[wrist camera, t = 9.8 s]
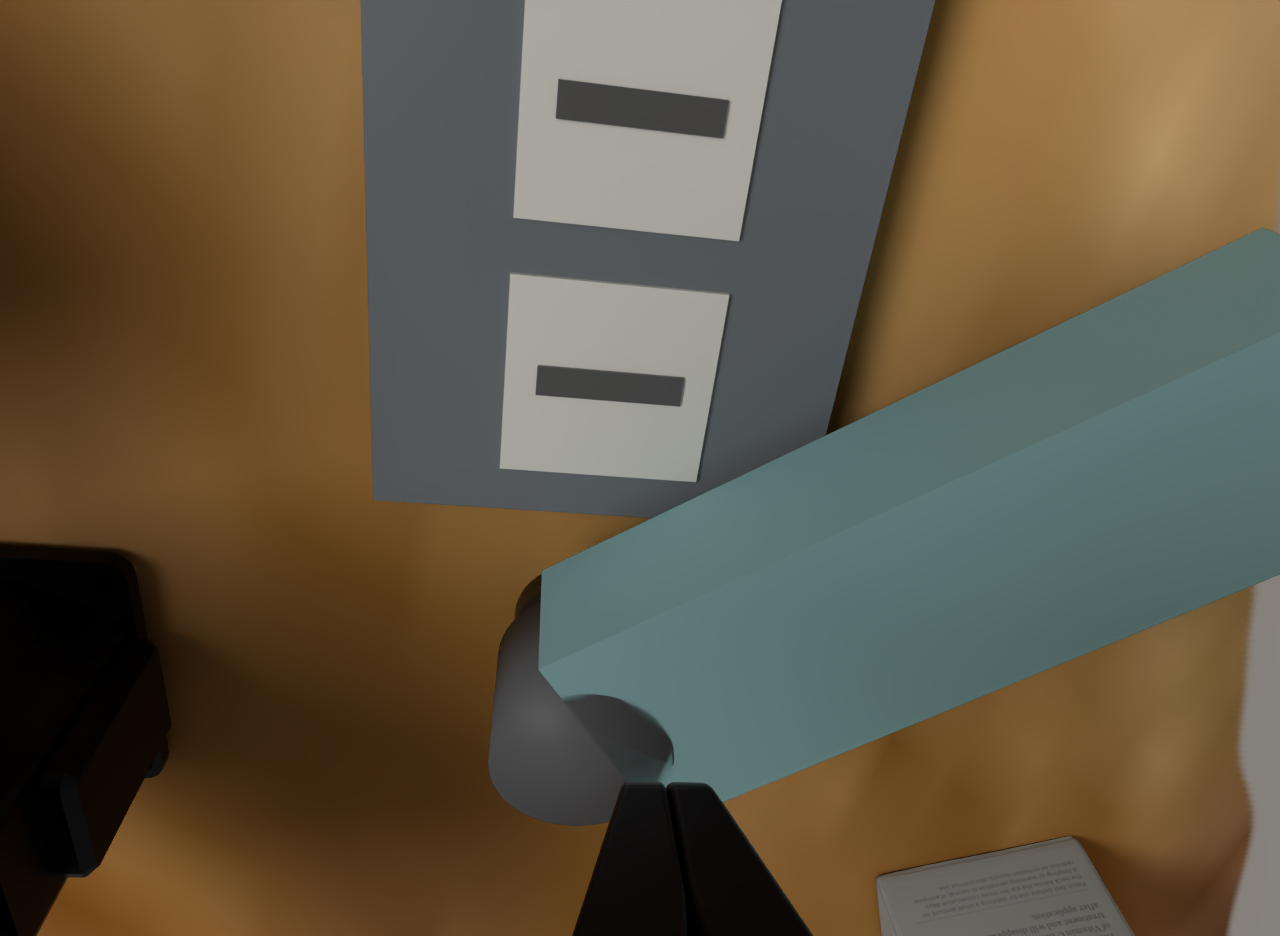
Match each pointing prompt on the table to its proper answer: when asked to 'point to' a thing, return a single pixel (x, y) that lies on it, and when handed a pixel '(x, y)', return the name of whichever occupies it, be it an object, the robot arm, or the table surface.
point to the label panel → (618, 237)
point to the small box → (1002, 895)
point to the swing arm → (913, 554)
